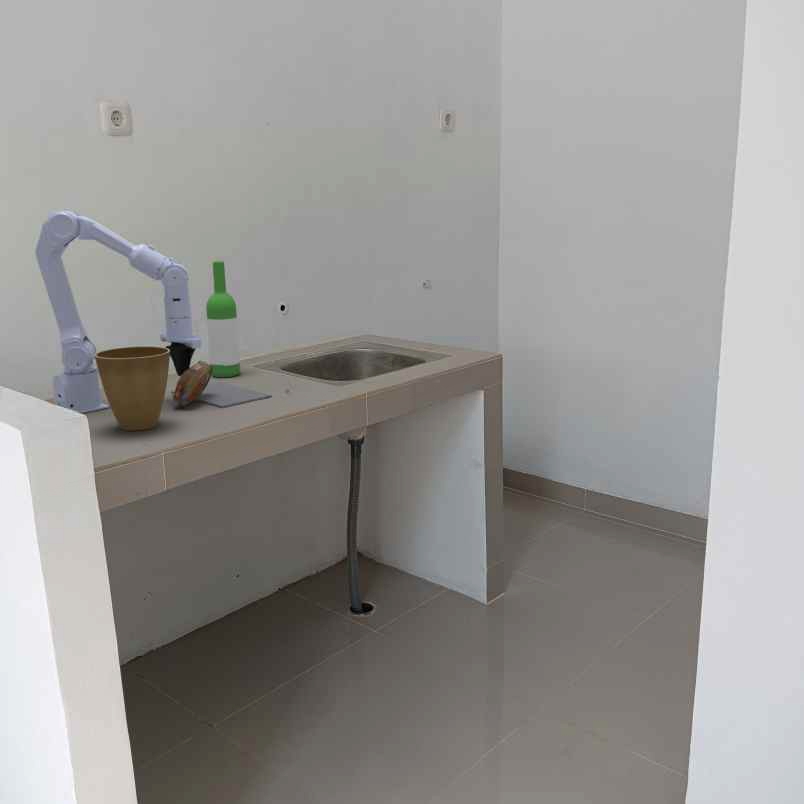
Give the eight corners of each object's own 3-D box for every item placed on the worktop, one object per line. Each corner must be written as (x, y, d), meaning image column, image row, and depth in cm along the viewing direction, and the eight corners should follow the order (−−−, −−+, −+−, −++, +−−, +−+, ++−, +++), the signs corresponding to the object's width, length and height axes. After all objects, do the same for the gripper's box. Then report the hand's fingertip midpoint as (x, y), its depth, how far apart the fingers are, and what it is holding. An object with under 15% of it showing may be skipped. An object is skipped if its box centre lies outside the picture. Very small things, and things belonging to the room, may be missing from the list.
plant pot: (184, 429, 179) (178, 353, 175) (110, 440, 172) (103, 361, 168) (164, 413, 191) (158, 342, 188) (95, 423, 184) (87, 349, 180)
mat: (222, 407, 196) (221, 406, 195) (171, 392, 211) (170, 391, 211) (271, 396, 205) (271, 395, 205) (219, 383, 220) (219, 381, 220)
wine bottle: (217, 371, 234) (209, 260, 227) (244, 372, 233) (238, 260, 225) (206, 378, 226) (198, 262, 219) (234, 378, 225) (227, 262, 218)
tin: (178, 410, 194) (191, 379, 191) (166, 404, 194) (179, 372, 191) (205, 391, 208) (218, 362, 205) (194, 385, 208) (206, 356, 205)
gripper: (211, 317, 194) (215, 376, 197) (177, 312, 204) (181, 368, 207) (183, 321, 189) (188, 382, 192) (150, 315, 199) (155, 373, 202)
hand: (183, 375), depth 200 cm, fingers closed
